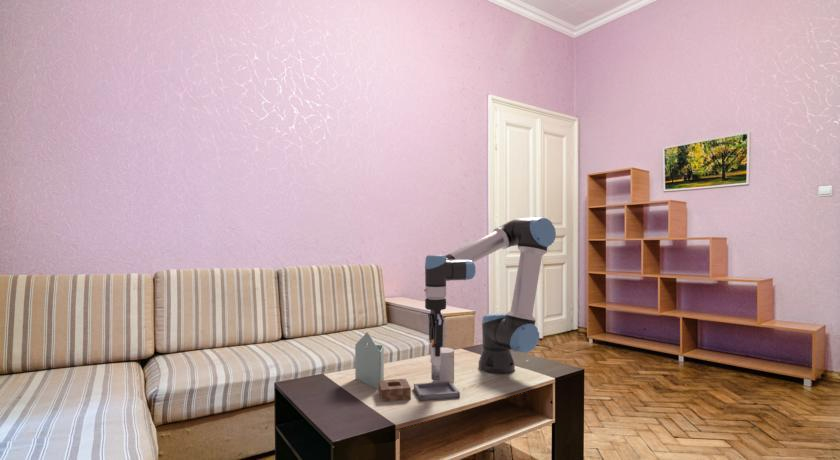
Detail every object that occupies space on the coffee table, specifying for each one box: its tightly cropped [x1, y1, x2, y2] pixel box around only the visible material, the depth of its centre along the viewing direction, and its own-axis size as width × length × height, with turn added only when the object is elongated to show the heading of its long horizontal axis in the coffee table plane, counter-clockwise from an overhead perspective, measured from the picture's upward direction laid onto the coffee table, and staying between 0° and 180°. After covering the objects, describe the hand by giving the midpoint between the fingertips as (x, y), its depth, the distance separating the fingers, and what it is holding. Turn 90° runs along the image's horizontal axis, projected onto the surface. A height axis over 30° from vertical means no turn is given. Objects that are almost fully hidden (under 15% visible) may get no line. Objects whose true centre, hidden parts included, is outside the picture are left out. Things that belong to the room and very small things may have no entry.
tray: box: [413, 381, 461, 402], centre depth 158 cm, size 14×12×2 cm
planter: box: [354, 331, 385, 390], centre depth 171 cm, size 16×8×20 cm, turn 41°
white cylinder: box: [432, 347, 455, 384], centre depth 171 cm, size 8×8×12 cm
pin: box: [430, 339, 440, 381], centre depth 158 cm, size 3×3×14 cm
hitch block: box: [377, 378, 412, 403], centre depth 156 cm, size 10×10×4 cm
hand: (435, 363), depth 158 cm, fingers closed on pin, 3 cm apart
